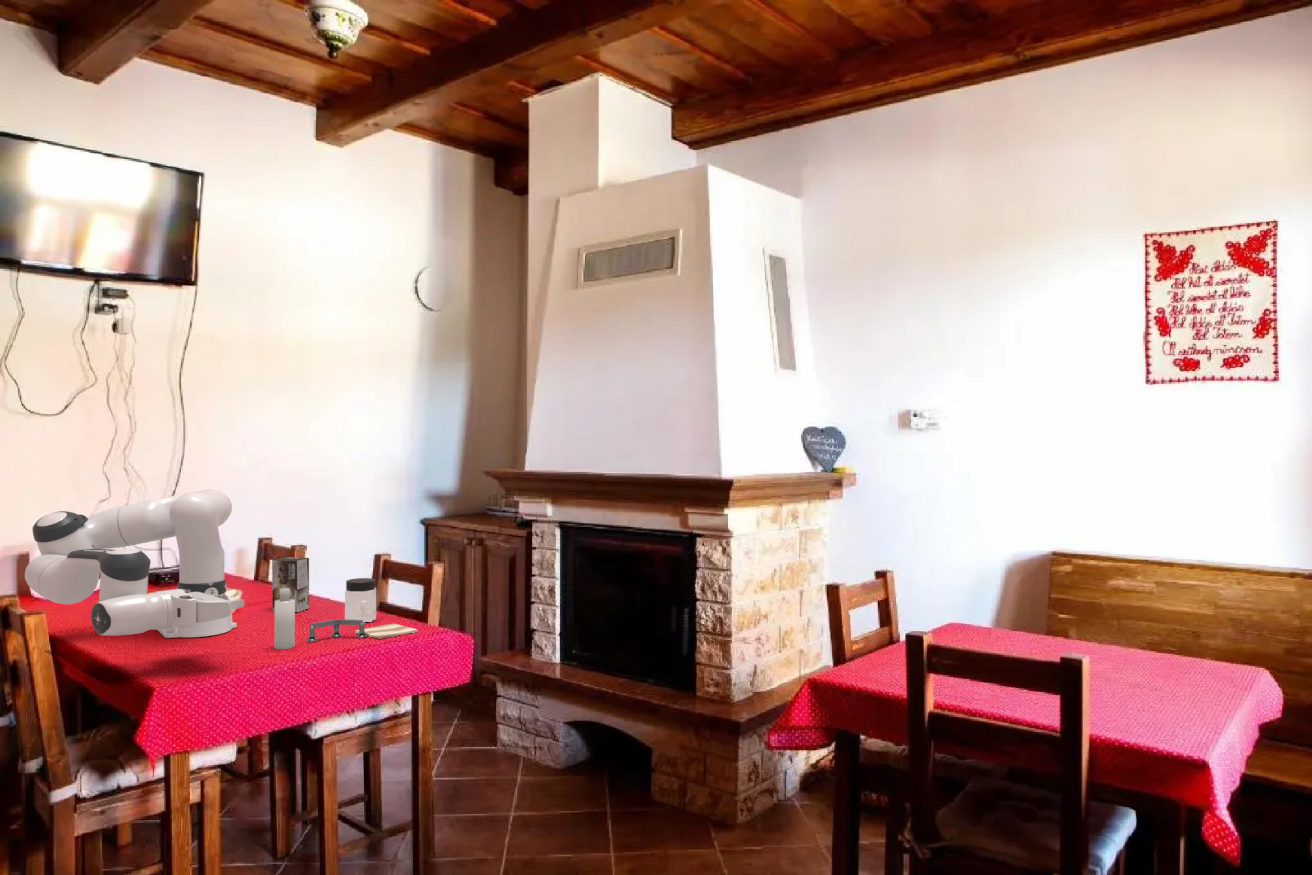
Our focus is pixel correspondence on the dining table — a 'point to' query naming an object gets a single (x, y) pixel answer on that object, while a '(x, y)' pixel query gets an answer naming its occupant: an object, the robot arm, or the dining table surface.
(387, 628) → the birch board
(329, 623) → the grey angled rail stand
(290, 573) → the coffee box
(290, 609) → the stoneware bottle
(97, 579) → the robot arm
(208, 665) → the dining table surface
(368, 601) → the jar
